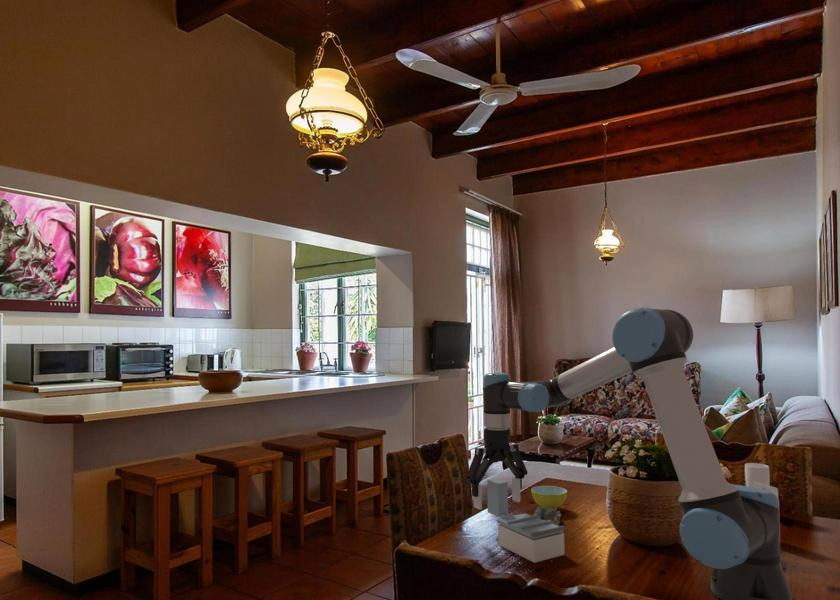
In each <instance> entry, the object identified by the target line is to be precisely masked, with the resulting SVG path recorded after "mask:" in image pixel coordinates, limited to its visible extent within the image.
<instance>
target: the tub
mask: <svg viewBox="0 0 840 600" xmlns="http://www.w3.org/2000/svg"><path fill="white" fill-rule="evenodd" d="M497 525H498V527H497V528H498V530H497V531H498V533H497V534H498V535H497V536H498V538H497V539H498V541H497V542H498V543H497V544H498V545H499V546H500V547H502V548H504V549H506V550H508V551H510V552H512V553H514V554H516V555H518V556H520V557H522V558H523V559H526V560H528V561H530V562H532V563H539V562H544V561H546V560H550V559H555V558H558V557H561V556H565V533H564V532H560V533H556V534H552V535H548V536H544V537H542V538H537V539H532V538H530V537H527V536H525V535H523V534H521V533H519V532H516V531H514V530H512V529H510V528H507V527H505V526H503V525H501V524H499V523H497Z"/></svg>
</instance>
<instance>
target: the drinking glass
mask: <svg viewBox="0 0 840 600" xmlns="http://www.w3.org/2000/svg"><path fill="white" fill-rule="evenodd" d="M770 477H771V473H770V465H767V464H763V463H758V462H747V463H744V479H745V486H749V487H753V481H754V482H758V483H761V484H765V485H768V486H770V483H771V482H770V481H771V480H770V479H771V478H770ZM761 489H764V490H768V489H766V488H761ZM768 491H770V490H768Z"/></svg>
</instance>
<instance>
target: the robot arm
mask: <svg viewBox="0 0 840 600" xmlns="http://www.w3.org/2000/svg"><path fill="white" fill-rule="evenodd" d="M611 336H612V338H611V339H612V344H613V347H611V348H609V349H607V350H605V351H604V352H601V353H599V354H597V355H596V356H594V357H592V358H589V359H588V360H586V361H584V362H582V363H580V364H578V365H575V366H573V367H572V368H570V369H567V370H566V371H564V372H562V373H560V374H558V375H556V376H554V377H552V378H550V379H547V380H545V379H544V380H537V381H513V380H512V379H511V375H510V373H506V372H487V373H485V374H484V376H483V386H482V390H483V392H482V394H483V426H484V428H483V442H484V446H483V447H479V446H476V447H475V448H474V454H473V455H474V456H473V458H472V460H471V463H470V466H469V468H468V471H467V474H466V476H465V480H464V481H465V482H466V483H469V484H471V496H472V497H473V508H475V509H477V510H479V511H480V510H481V511H482V510H483V506H482V505H483V494H482V493H483V490H482V489H483V486H482V484H480V483H481V481H482V480H483V478H484V476H485V475H486V474H487V471H488V470H489V468H490V467H491V466H492V465H493V463H494V464H495V463H498V462H499V463H500V462H504V463H505V465H506V466H507V468H508V469H509V470H510V472H511V473H512V474H513V476H512V477H511V498H512V501H513V502H516V503H521V490H522V487H523V483H522V482H523V479H525V476H528V470H527V468H526V464H525V462H524V460H523V458H522V454H521V453H520V447H519V444H518V443H516V442H511V429H510V427H511V409H512V410H518V411H525V412H526V411H527V412H529V413H532V412H535V413H539V412H543V411H544V410H545V409H546V408H552V407H555V408H556V407H558V408H559V407H564V406H566V405H568V404H570V403H571V402H572V401H573V400H574V399H575V398H577V397H580V396H582V395H584V394H587V393H589V392H591V391H593V390H595V389H597V388H599V387H602V386H604V385H606V384H609V383H610V382H613V381H615V380H617V379H619V378H621V377H624V376H626V375H628V374H630V373H632V375H634V376H635V377H637V378H639V379H641V380H642V381H643V384H644V387H645V389H646V392H647V395H648V397H649V400H650V403H651V406H652V408H653V411H654V414H655V417H656V421H657V423H658V425H659V428H660V431H661V434H662V436H663V439H664V443H665V445H666V447H667V450H668V453H669V456H670V459H671V462H672V465H673V468H674V471H675V472H676V475H677V478H678V481H679V483H680V486H681V489H682V490H681V494H680V495H679V497H678V503H679V506H680V509H681V512H682V515H683V516H682V518H681V521H680V523H679V535H680V539H681V542H682V544H683V545H684V547H685V549H686V550H687V551H688V553H689V554H690V555H691V557H693V558H694V559H695V560H696V561H697V560H698V561H699V562H700V563H701V564H702V565H704V566H707V567H709V568H713V571H712V574H711V577H710V590H711V592H712V594H713V595H714V596H715V595H716V596H715V597H717V598H718V599H719V598H720V599H719V600H721V599H722V600H793V598H792V597H793V596H792V595H793V594H792V590H791V588H790V586H789V582H788V580H787V578H786V575H785V572H784V570H783V567H782V564H781V561H782V560H781V530H780V531H779V517H780V505H779V506H778V500H779V497H778V498H777V496H776V495H775V494H774V493H773V492H771V491H770V490H769V491H768V490H764V489H760V488H755V487H749V486H746V485H743V484H741V485H740V484H733V483H730V482H728V481H727V479H726V477H725V474H724V472H723V470H722V467H721V464H720V461H719V459H718V456H717V455H716V451H715V448H714V446H713V443H712V441H711V438H710V436H709V433H708V431H707V428H706V425H705V422H704V420H703V417H702V415H701V412H700V409H699V407H698V404H697V402H696V400H695V396H694V394H693V391H692V389H691V387H690V384H689V381H688V379H687V376H686V373H685V371H684V367H685V364H686V363H687V361H688V358H687V355H686V353H687V351H688V350H689V349H690V348H691V346H692V344H693V340H694V329H693V326H692V324H691V322H690V321H689V320H688V319H687V317H686V316H684V315H683V314H682V313H680V312H678V311H677V310H673V309H672V310H671V309H658V308H649V307H641V308H633V309H631V310H628V311H626V312H624V313H623V314H622V315H620V316H619V317H618V319H617V320H616V323H615V325H614V327H613V329H612V334H611ZM509 452H510V453H511V455H510V454H509Z"/></svg>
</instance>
